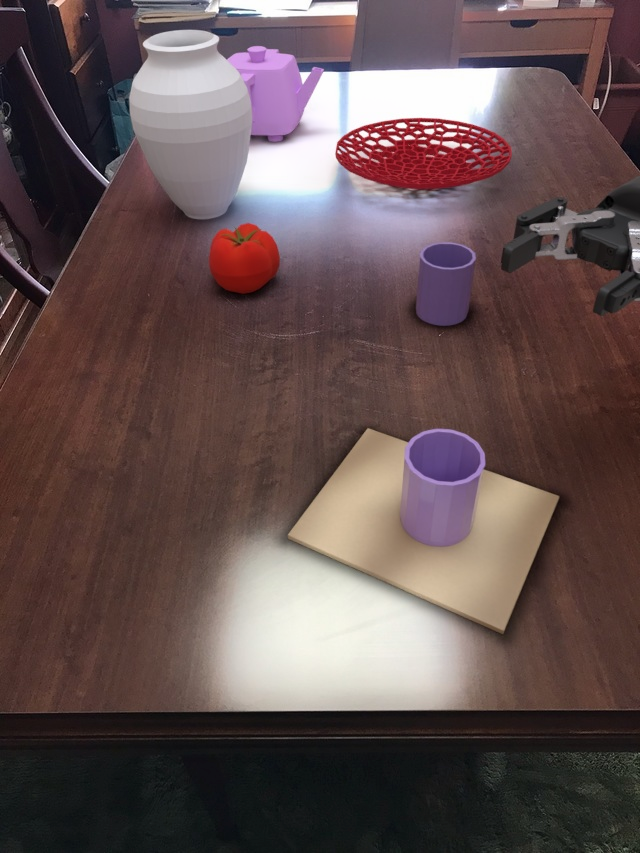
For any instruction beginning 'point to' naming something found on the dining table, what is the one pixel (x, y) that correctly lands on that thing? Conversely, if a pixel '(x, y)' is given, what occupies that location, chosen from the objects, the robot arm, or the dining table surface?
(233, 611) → the dining table surface
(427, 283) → the lilac cup
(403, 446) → the mat
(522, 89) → the dining table surface
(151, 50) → the vase
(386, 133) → the bowl
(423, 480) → the lavender cup
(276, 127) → the teapot
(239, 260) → the tomato
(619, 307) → the robot arm
